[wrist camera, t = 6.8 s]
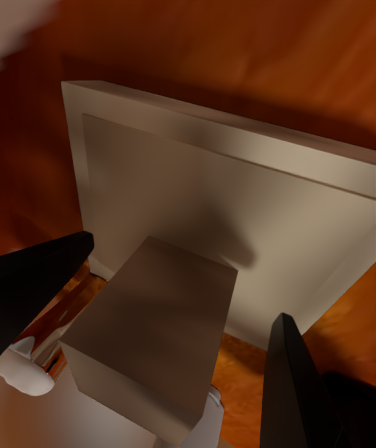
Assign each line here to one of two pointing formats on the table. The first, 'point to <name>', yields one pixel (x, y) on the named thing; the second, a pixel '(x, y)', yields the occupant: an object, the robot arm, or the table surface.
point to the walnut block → (153, 338)
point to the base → (224, 199)
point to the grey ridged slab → (202, 426)
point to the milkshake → (46, 342)
